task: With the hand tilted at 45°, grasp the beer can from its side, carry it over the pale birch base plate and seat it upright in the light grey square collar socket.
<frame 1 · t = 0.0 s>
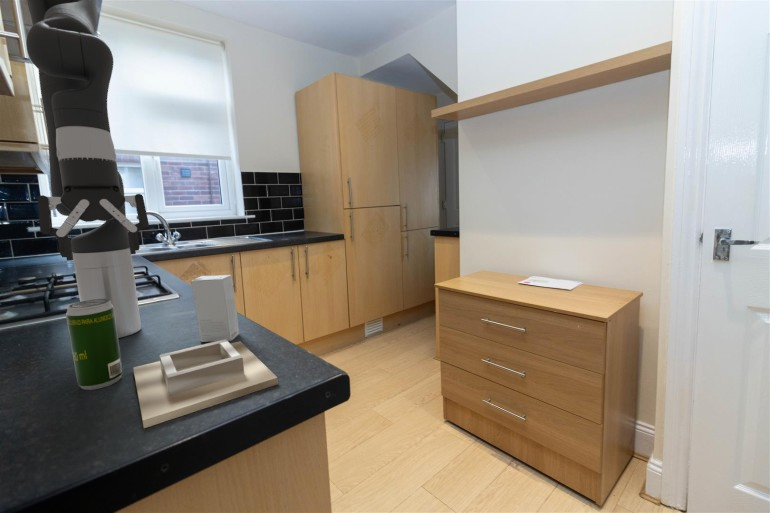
hand: (102, 257, 63), 17 cm above the countertop, tool pointing down, fingers open, 8 cm apart
socket plate: (202, 378, 55), on the countertop
skincare box: (219, 339, 71), on the countertop
beer can: (101, 383, 55), on the countertop
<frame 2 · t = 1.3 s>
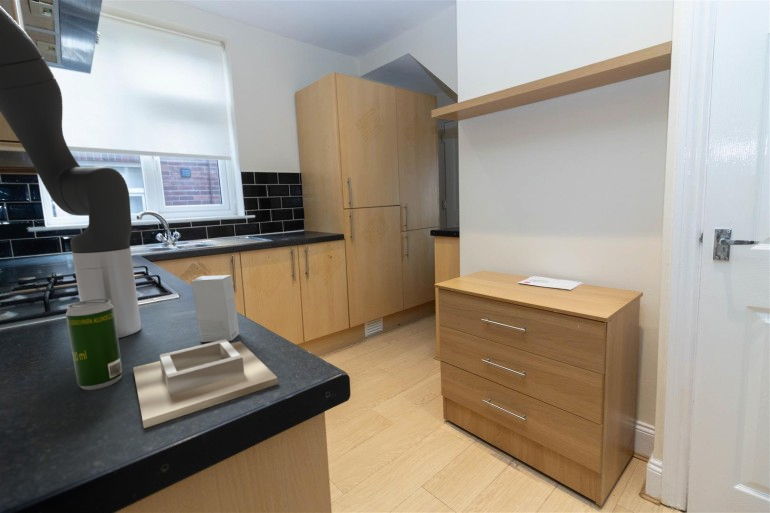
nothing on the countertop moved.
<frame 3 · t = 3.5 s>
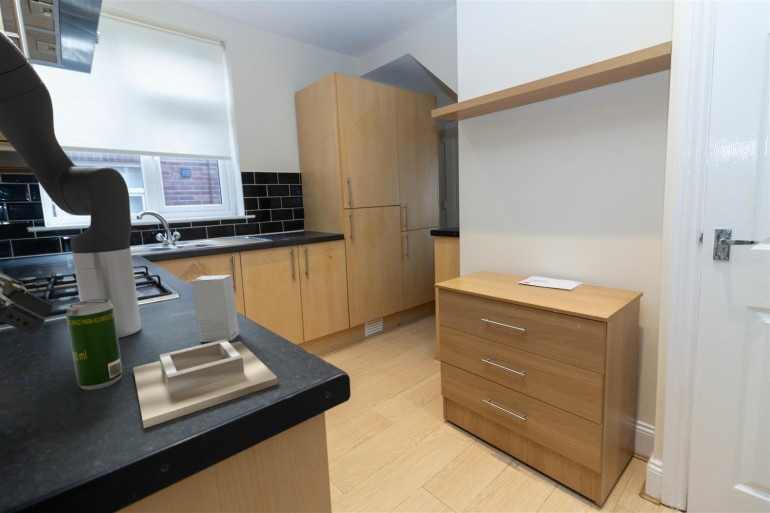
hand: (44, 319, 50), 11 cm above the countertop, tool tilted 45°, fingers open, 8 cm apart
nothing on the countertop moved.
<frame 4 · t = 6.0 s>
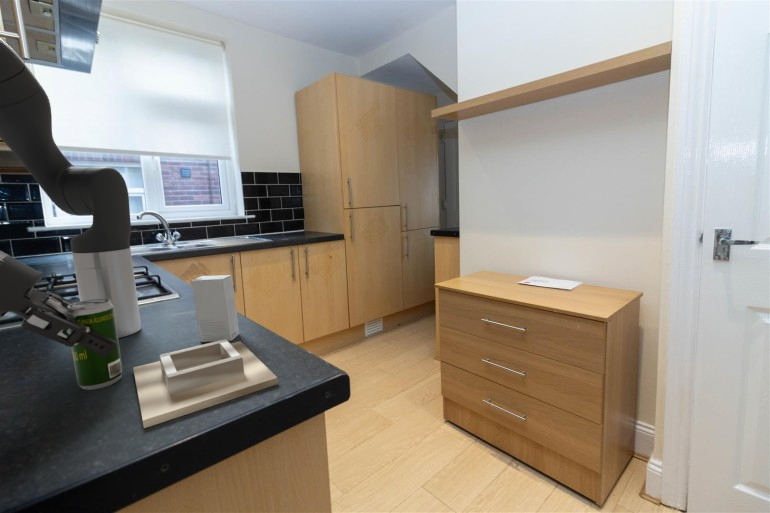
hand: (111, 343, 55), 5 cm above the countertop, tool tilted 45°, fingers closed on beer can, 5 cm apart
beer can: (101, 383, 55), on the countertop, touching gripper
everything else where it was.
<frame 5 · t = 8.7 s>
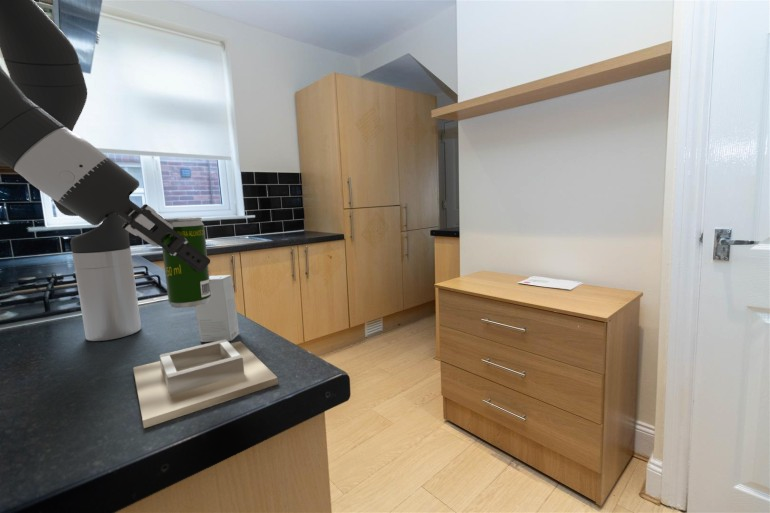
hand: (200, 263, 53), 17 cm above the countertop, tool tilted 45°, fingers closed on beer can, 5 cm apart
beer can: (190, 304, 53), point 11 cm above the countertop, touching gripper
everything else where it was.
when the fingers open (8 cm above the countertop, at t = 11.3 s): beer can drops 1 cm, resting on socket plate.
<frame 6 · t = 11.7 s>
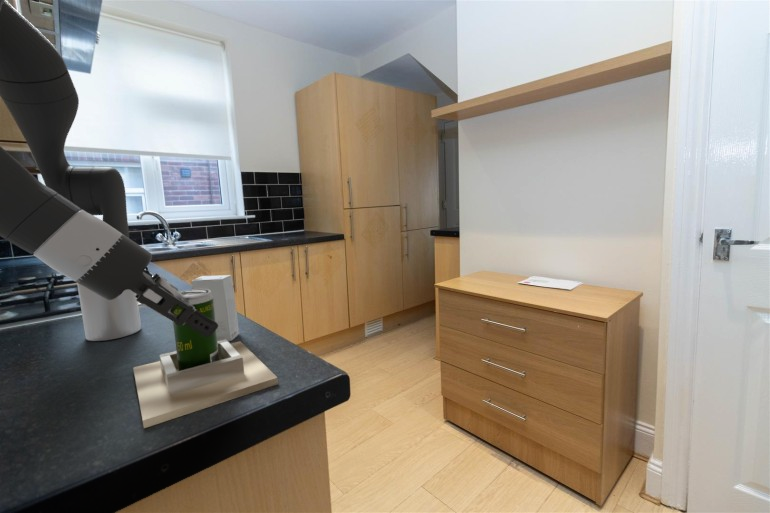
hand: (207, 323, 54), 8 cm above the countertop, tool tilted 45°, fingers open, 8 cm apart
beer can: (200, 373, 54), point 1 cm above the countertop, touching socket plate
everything else where it was.
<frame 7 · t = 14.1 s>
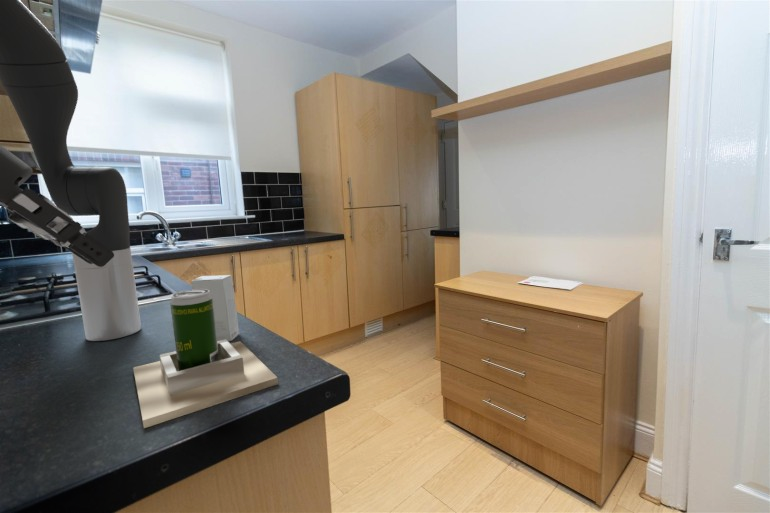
hand: (102, 260, 47), 19 cm above the countertop, tool tilted 40°, fingers open, 8 cm apart
nothing on the countertop moved.
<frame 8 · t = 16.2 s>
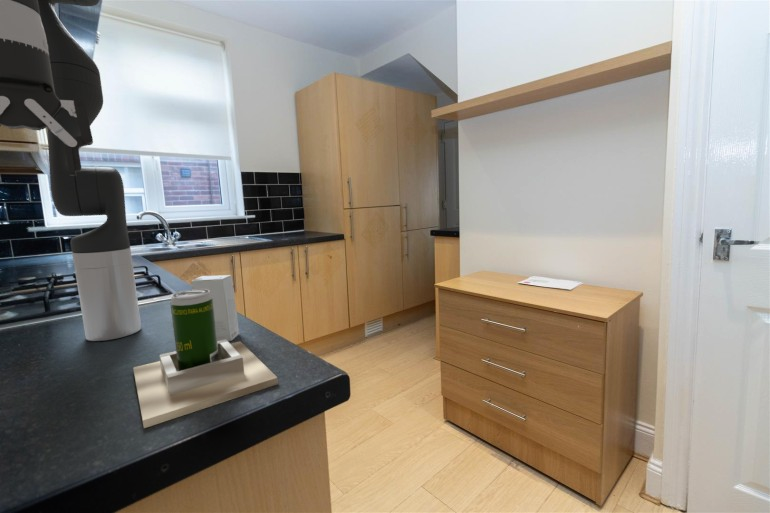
hand: (32, 175, 50), 30 cm above the countertop, tool pointing down, fingers open, 8 cm apart
nothing on the countertop moved.
at the end: beer can 0.2 cm off-centre on the socket plate, point 0.8 cm above the socket plate's base; beer can tilted 0°; the gripper is holding nothing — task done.
